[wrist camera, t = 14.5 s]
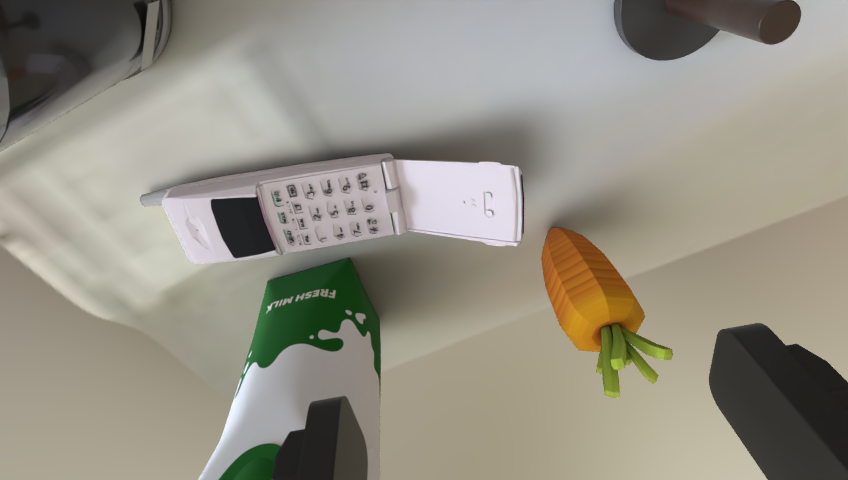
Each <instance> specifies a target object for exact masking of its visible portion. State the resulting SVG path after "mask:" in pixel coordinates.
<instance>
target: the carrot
mask: <svg viewBox="0 0 848 480" xmlns="http://www.w3.org/2000/svg"><path fill="white" fill-rule="evenodd" d="M542 267H543V275H544V281H545V286H546V289H547V292H548V295H549V298H550V301H551V304H552V306H553V309H554V311H555V314H556V316H557V319H558V321H559V324H560V326H561V327H562V329H563V331H564V332H565V333H566V335H567V336H568V337H569V338H570V340H571V341H572V342H573V344H574V345H575V346H576V347H577V348H578V350H582V351H592V352H600V354H599V359H598V364H597V370H596V372H597V373H600V374H602V373H603V384H604V391H605V395H607V396H610V397H612V398H615V397H619V396H620V393H619V378H618V370H621V369H623V368H625V365H629V364H630V363H631V362H632V361H633V362H634V364H635V365H636V366H637V368H638V369H639V370H640V372H641V373H642V374H643V375H644V376H645V377H646V378H647V379H648V380H649V381H650V382H651V383H652V384H653V383H655V382H656V381H657V378H658V374H657V373H656V372H655V371H654V370H653V369H652V368H651V367H650V366H649V365H648V364H647V363H646V361H645V360H644V359H643V358H642V357H641V356H640V354H639V353H638V352H637V351H636V350H635V349H634V348H633V347H632V346H631V345H630V344H632V345H633V346H635V347H636V348H638V349H639V350H641V351H642V352H644V353H645V354H647V355H649V356H652V357H654V358H658V359H663V360H671V358H672V355H673V353H672V349H670V348H667V347H664V346H661V345H658V344H656V343H654V342H651V341H649V340H647V339H645V338H643V337H641V336H639V335H637V334H636V332H637V331H638V329H639V327H640V325H641V323H642V322H643V320H644V318H645V315H644V312H643V310H642V308H641V306H640V304H639V303H638V301H637V299H636V298H635V296H634V294H633V293H632V291H631V289H630V288H629V287H628V285H627V284H626V282H625V281H624V280H623V278H622V277H621V276H620V274H619V273H618V271H617V270H616V269H615V267H614V266H613V265H612V264H611V262H610V261H609V260H608V259H607V257H606V256H605V255H604V254H603V253H602V252H601V251H600V250H599V249H598V248H597V247H596V246H595V245H593V244H592V243H591V242H590V241H589V240H587V239H586V238H585V237H584V236H582V235H580V234H578V233H576V232H574V231H571V230H567V229H563V228H557V227H554V228H552V229H550V230H549V232H548V234H547V237H546V240H545V243H544V246H543V252H542ZM629 343H630V344H629ZM631 360H632V361H631Z"/></svg>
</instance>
